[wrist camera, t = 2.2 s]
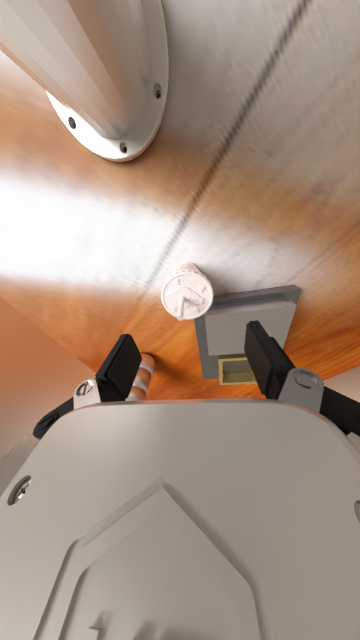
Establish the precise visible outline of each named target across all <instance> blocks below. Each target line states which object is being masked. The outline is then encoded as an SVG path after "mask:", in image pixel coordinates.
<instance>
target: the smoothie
mask: <svg viewBox="0 0 360 640" xmlns="http://www.w3.org/2000/svg"><path fill="white" fill-rule="evenodd" d="M161 300H162V303H163V305H164V307H165V309H166V310H167V311H168V312H169V313H170V314H171V315H173V316H175V317H177V319H178V320H183V319H194V318H197V317H200V316H202V315H203V314H204V313H206V312H207V311H208V309H209V308H210V306H211V304H212V302H213V287H212V285H211V282H210V280H209V279H208V278H207V277H206V276H205V275H204V274H202V273H201V272H200V271H199V270H198V268H197V267H196V266H195V265H194V264H193V263H184V264H182V265H181V266H180V267H179V268H178V270H177V271H176V272H174V273H173V274H171V275H170V276H169V277H168V278H167V279H166V281H165V282H164V284H163V288H162V291H161Z"/></svg>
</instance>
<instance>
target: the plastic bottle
mask: <svg viewBox="0 0 360 640" xmlns="http://www.w3.org/2000/svg"><path fill="white" fill-rule="evenodd" d="M140 354H141V356H142V361H141V364H140V367H139V369H138V372H137V375H136V377H135V380H134V383H133V386H132V388H131V391H130V394H129V396H128V398H126V400H125V401H145V399H146V394H147V389H148V386H149V383H150V380H151V377H152V376H153V374H154V371H155V360H154V358H153V357H152V356H150V355H149V354H145V353H140Z"/></svg>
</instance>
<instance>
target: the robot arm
mask: <svg viewBox="0 0 360 640" xmlns="http://www.w3.org/2000/svg"><path fill="white" fill-rule="evenodd" d="M0 50H1V51H2V52H3V53H4V54H6V55H7V56H8V57H9V58H10V59H11V60H12V61H13V62H14V63H16V64H17V65H18V66H19V67H20V68H21V69H22V70H23V71H24V72H26V73H27V74H28V75H29V76H30V77H31V78H32V79H33V80H35V81H36V82H37V83H38V84H39V85H40V86H41V87H42V88H43V89H45V91H46V93H47V95H48V97H49V99H50V101H51V103H52V105H53V107H54V109H55V110H56V112H57V114H58V115H59V117H60V119H61V120H62V122H63V123H64V124H65V126H66V127H67V128H68V130H69V131H70V132H71V134H72V135H73V136H74V137H75V138H76V139H77V140H78V141H79V142H80V143H81V144H82V145H83V146H85V147H86V148H87V149H89V150H90V151H91V152H93V153H94V154H96V155H98V156H99V157H101V158H103V159H106V160H109V161H112V162H125V161H129V160H132V159H134V158H136V157H138V156H139V155H141V154H142V153H143V152H144V151H145V150H146V149H147V148H148V147H149V145H150V144H151V142H152V141H153V139H154V138H155V136H156V134H157V131H158V129H159V127H160V124H161V121H162V118H163V114H164V110H165V107H166V100H167V93H168V82H169V56H168V42H167V34H166V27H165V20H164V13H163V9H162V4H161V0H0ZM157 94H161V97H160V98H159V99H157ZM76 125H77V127H76ZM125 148H127V153H125ZM244 352H245V355H246V357H247V359H248V362H249V364H250V367H251V369H252V371H253V374H254V376H255V379H256V381H257V384H258V386H259V388H260V391H261V393H262V394H263V395H265V396H266V398H267V399H185V400H146V401H125V400H126V398H128V396H129V394H130V391H131V388H132V386H133V383H134V380H135V377H136V375H137V372H138V369H139V367H140V364H141V361H142V356H141V354H140V352H139V350H138V348H137V346H136V344H135V342H134V340H133V338H132V336H131V335H129V334H122V335H121V336H120V338H119V339H118V341H117V342H116V344H115V345H114V347H113V349H112V350H111V352H110V353H109V355H108V356H107V358H106V360H105V361H104V363H103V364H102V366H101V367H100V369H99V371H98V372H97V374H96V375H95V376H96V378H95V379H87V380H85V381H84V382H82V383H81V384H80V385H79V386H78V387H77V388H76V389H75V391H74V395H73V397H72V398H71V399H69V400H68V401H66V402H65V403H63V404H62V405H60V406H59V407H57V408H56V409H54V410H53V411H51V412H50V413H48V414H47V415H45V416H44V417H43V418H42V419H41V420H40V421H39V422H38V423H37V425H36V426H35V428H34V431H33V434H32V435H31V434H28V435H27V436H26V437H25V438H24V439H23V440H22V441H21V442H19V444H17V445H16V446H15V447H14V448H13V449H12V450H10V451H9V452H8V453H7V454H6V455H5V456H4V457H3V458H2V459H0V640H360V403H359V402H357V401H354V400H353V399H350V398H348V397H346V396H344V395H342V394H340V393H338V392H336V391H334V390H331V389H329V388H327V387H325V386H324V383H323V381H322V379H321V378H320V377H319V376H318V375H317V374H315V373H314V372H312V371H310V370H308V369H304V368H296V367H295V366H294V364H293V363H292V362H291V360H290V359H289V357H288V356H287V355H286V353H285V352H284V351H283V349H282V348H281V346H280V345H279V344H278V342H277V341H276V340H275V338H274V337H269V335H268V334H267V332H266V331H265V329H264V328H263V326H262V325H261V324H260V322H259V321H258V320H256V321H249V323H247V324H246V334H245V345H244ZM355 502H356V503H355Z"/></svg>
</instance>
